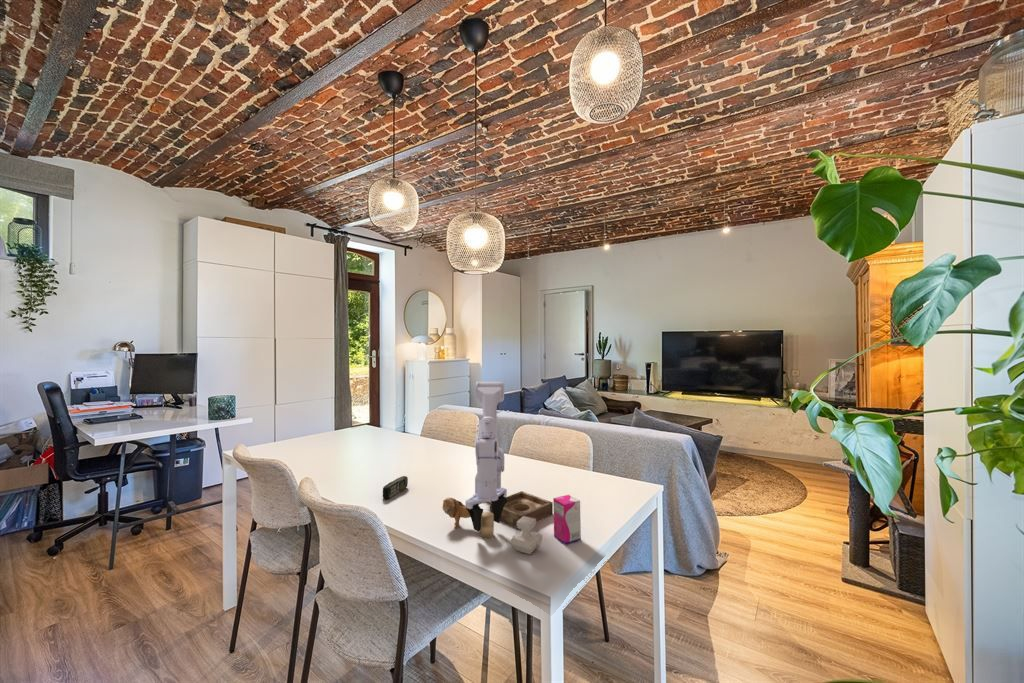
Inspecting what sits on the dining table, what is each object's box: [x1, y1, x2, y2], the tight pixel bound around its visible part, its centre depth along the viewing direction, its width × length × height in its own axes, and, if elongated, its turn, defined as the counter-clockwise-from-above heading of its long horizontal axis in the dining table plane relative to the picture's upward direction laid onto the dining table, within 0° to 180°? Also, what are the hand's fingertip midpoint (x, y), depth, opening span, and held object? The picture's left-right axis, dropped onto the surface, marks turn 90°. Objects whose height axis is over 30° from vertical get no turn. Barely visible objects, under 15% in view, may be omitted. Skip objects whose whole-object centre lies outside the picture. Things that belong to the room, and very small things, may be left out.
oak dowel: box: [479, 511, 495, 539], centre depth 121 cm, size 4×4×6 cm
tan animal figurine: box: [442, 497, 471, 530], centre depth 126 cm, size 15×5×9 cm, turn 91°
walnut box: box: [489, 491, 554, 531], centre depth 134 cm, size 14×15×4 cm
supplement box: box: [552, 494, 582, 545], centre depth 119 cm, size 6×6×12 cm
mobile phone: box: [382, 475, 409, 501], centre depth 154 cm, size 5×3×15 cm
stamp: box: [509, 516, 543, 555], centre depth 112 cm, size 9×7×8 cm
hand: (486, 525), depth 121 cm, fingers open, 7 cm apart
